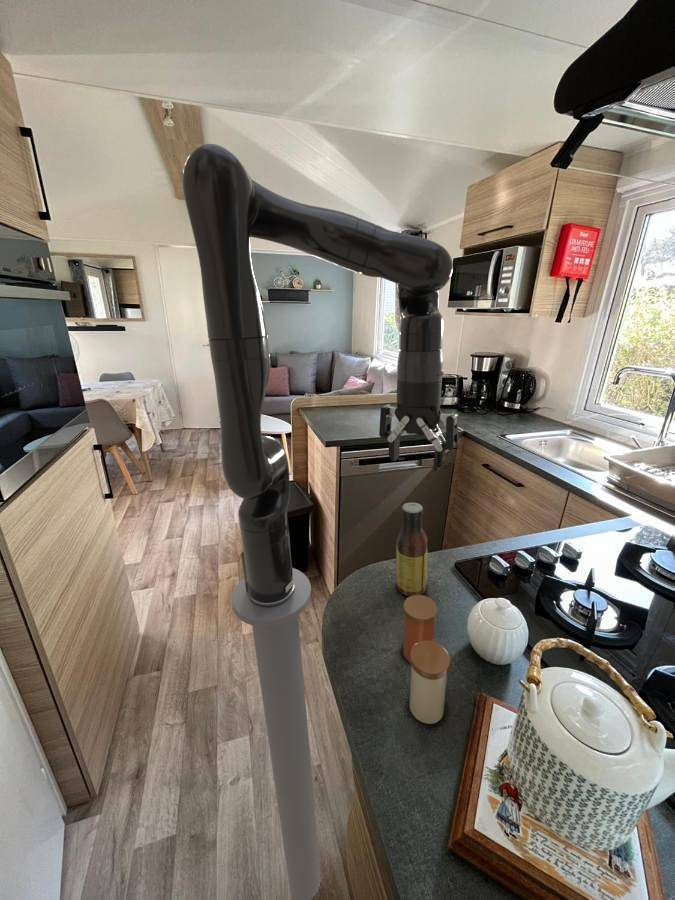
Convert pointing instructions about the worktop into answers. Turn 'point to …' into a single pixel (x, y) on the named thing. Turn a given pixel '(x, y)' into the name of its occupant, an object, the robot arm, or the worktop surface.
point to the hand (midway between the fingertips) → (415, 464)
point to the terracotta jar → (418, 622)
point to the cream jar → (428, 681)
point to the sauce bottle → (411, 552)
